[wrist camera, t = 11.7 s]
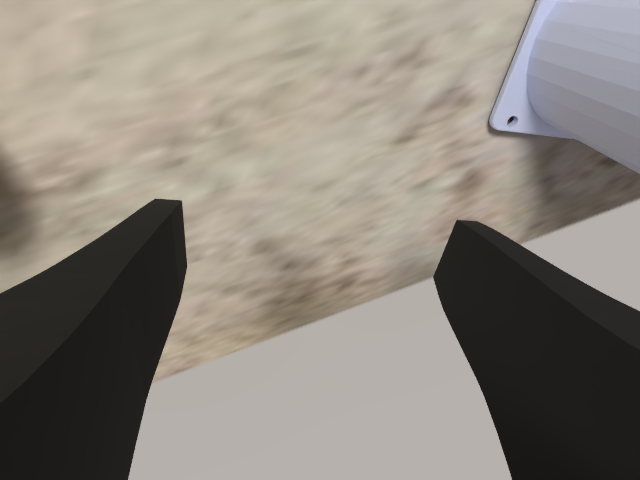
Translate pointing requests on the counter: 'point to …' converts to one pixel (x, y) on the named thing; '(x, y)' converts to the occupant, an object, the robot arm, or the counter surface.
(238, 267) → the counter surface
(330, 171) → the counter surface
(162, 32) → the counter surface
